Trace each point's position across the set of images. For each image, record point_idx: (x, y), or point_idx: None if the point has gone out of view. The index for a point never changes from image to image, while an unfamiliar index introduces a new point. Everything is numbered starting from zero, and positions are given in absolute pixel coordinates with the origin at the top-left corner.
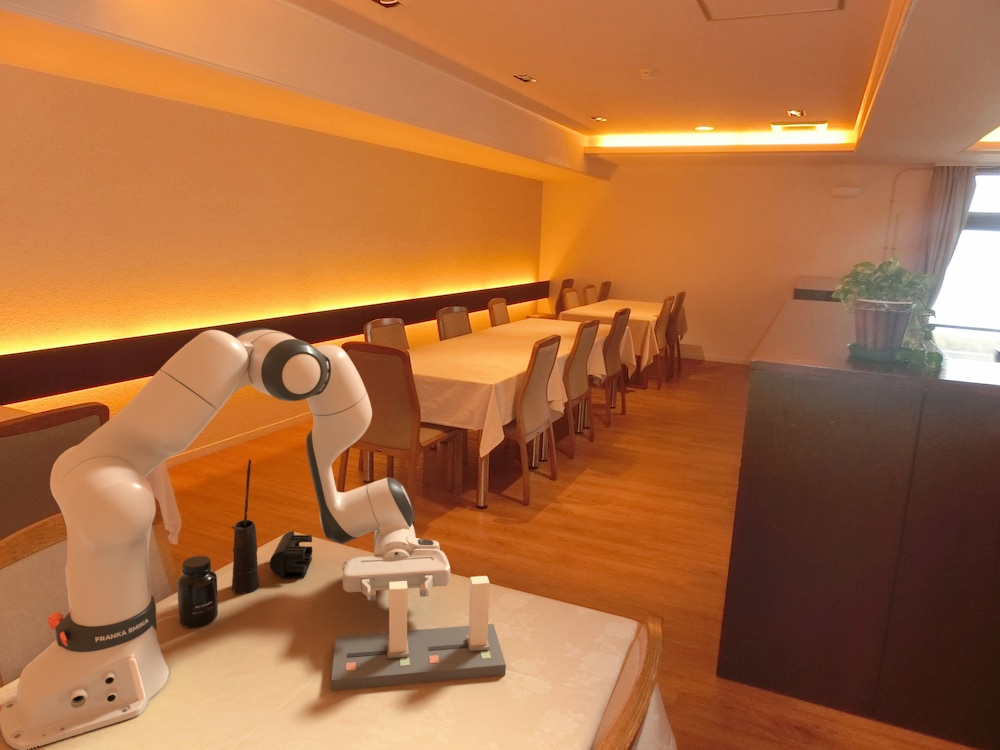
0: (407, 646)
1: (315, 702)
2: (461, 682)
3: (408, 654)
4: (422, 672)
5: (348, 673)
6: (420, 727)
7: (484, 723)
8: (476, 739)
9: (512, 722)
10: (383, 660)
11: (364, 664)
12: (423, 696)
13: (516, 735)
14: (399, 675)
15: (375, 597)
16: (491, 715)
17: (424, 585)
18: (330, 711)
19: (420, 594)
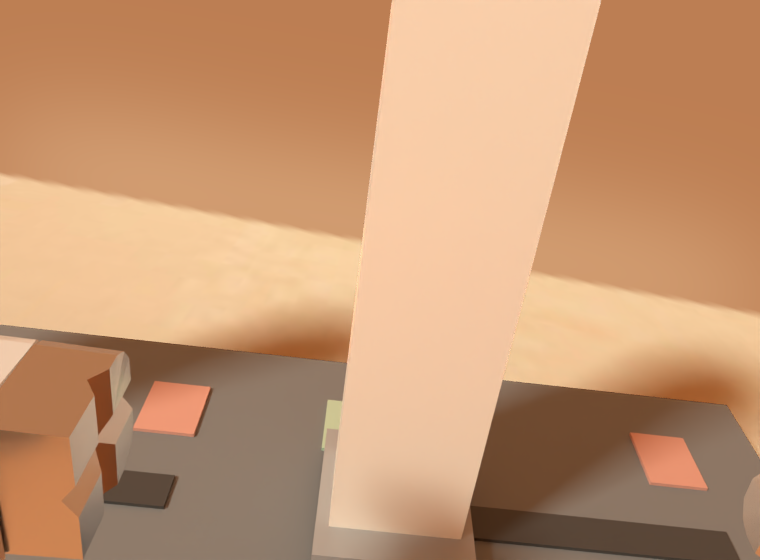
0: (325, 489)
1: (743, 414)
2: None
3: (329, 431)
4: (269, 355)
5: (659, 425)
6: (323, 263)
7: (107, 231)
8: (164, 208)
9: (13, 216)
10: (483, 463)
11: (592, 459)
12: (282, 347)
13: (38, 192)
14: None
15: (756, 480)
16: (63, 243)
17: (17, 381)
18: (657, 368)
19: (130, 410)
